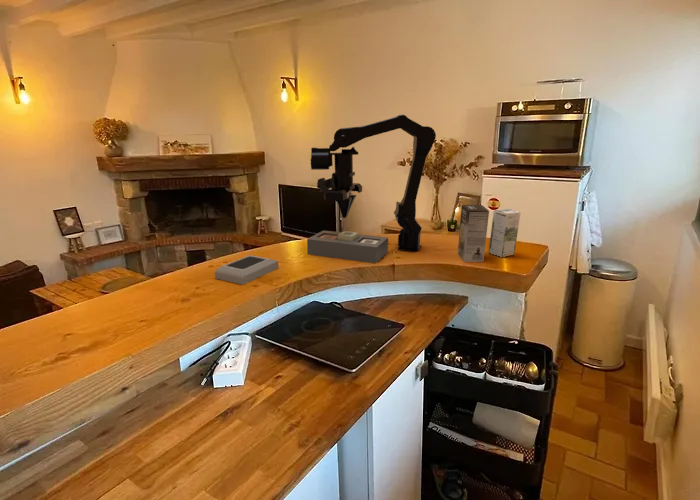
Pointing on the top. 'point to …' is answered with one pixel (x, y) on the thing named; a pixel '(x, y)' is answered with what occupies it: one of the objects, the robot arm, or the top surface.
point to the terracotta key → (328, 236)
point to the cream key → (369, 241)
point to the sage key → (348, 236)
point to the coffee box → (473, 233)
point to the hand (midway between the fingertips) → (344, 217)
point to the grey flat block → (246, 269)
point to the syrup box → (504, 232)
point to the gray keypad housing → (348, 247)
